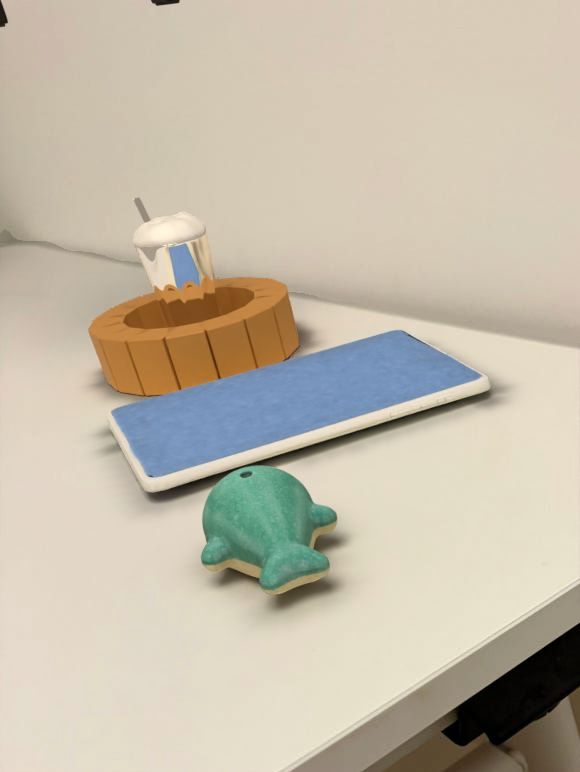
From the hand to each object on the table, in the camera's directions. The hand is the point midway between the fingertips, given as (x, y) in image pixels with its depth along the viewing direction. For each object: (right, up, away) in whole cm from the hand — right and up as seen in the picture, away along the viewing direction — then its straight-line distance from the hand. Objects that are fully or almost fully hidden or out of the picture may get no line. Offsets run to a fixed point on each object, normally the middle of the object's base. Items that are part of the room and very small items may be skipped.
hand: (84, 15), depth 52 cm
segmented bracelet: (+4, -16, +11) cm, 20 cm away
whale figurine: (+14, -32, -13) cm, 38 cm away
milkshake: (+3, -16, +11) cm, 20 cm away
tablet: (+12, -23, 0) cm, 26 cm away
